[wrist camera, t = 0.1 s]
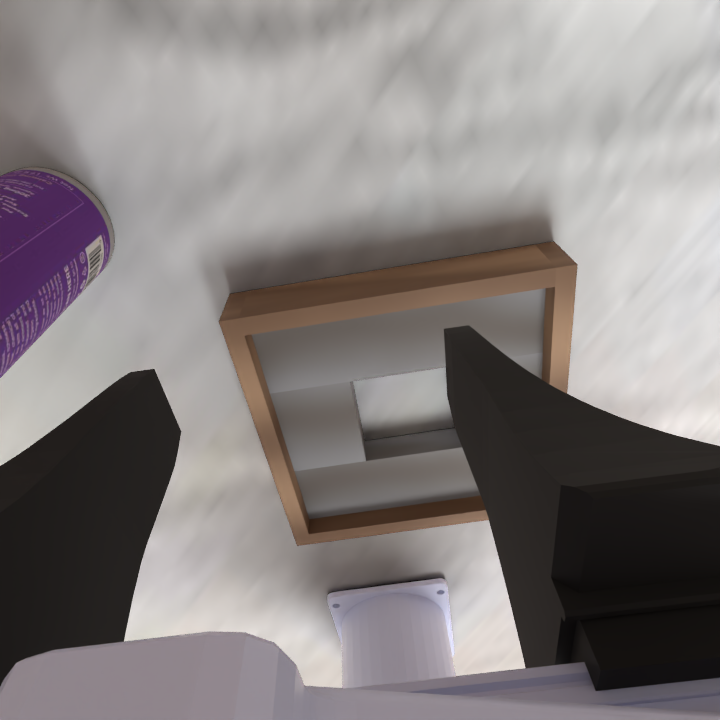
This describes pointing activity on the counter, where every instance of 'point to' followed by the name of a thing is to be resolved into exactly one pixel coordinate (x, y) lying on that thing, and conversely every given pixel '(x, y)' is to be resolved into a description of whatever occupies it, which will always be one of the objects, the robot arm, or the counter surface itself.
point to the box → (378, 359)
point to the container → (45, 252)
